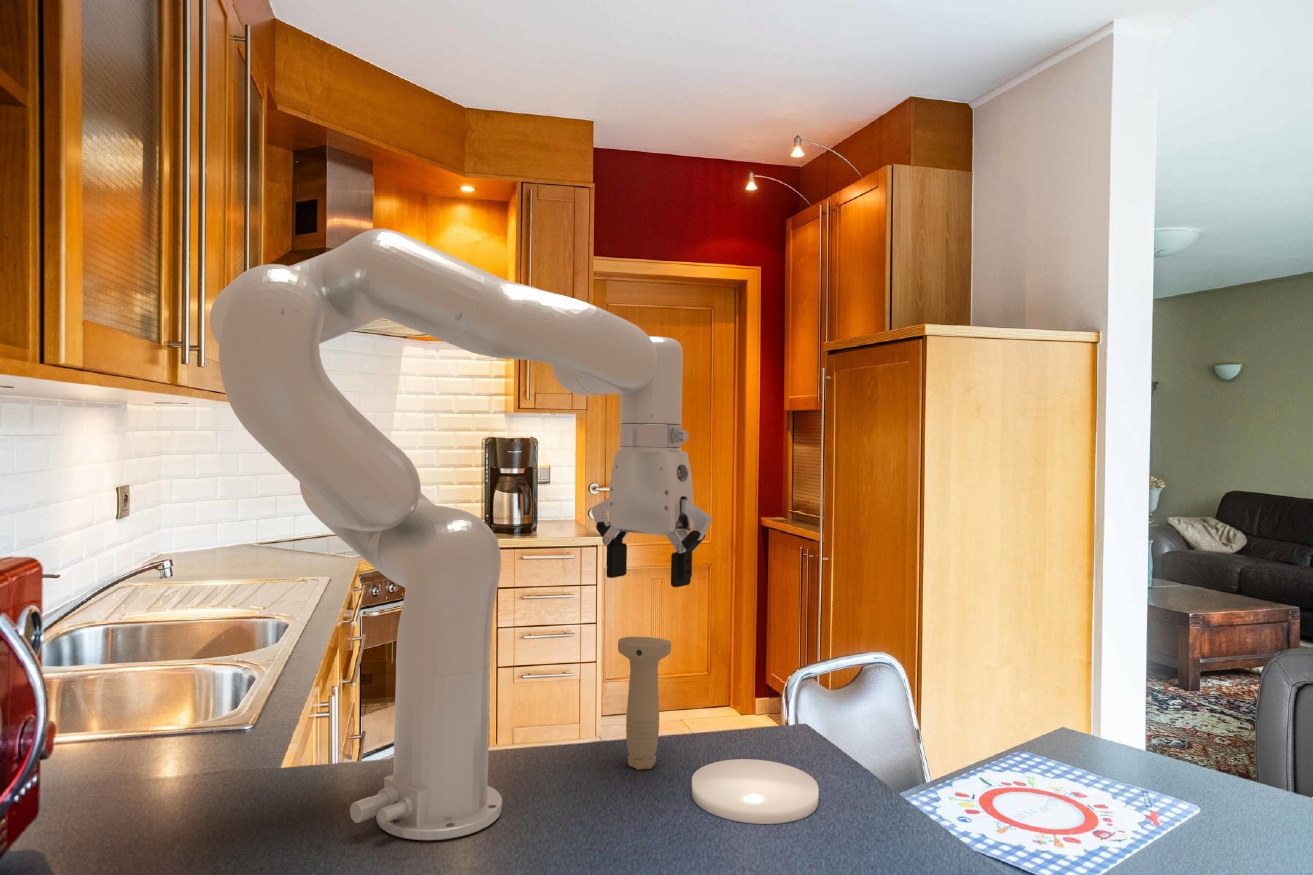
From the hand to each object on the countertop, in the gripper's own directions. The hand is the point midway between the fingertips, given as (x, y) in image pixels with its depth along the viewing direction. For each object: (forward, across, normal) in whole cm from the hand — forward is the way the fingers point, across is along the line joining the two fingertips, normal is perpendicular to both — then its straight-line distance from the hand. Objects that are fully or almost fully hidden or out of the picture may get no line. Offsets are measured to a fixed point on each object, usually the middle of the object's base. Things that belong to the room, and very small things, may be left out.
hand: (647, 580), depth 103 cm
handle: (+22, 0, 0) cm, 23 cm away
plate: (+22, -15, -1) cm, 27 cm away
